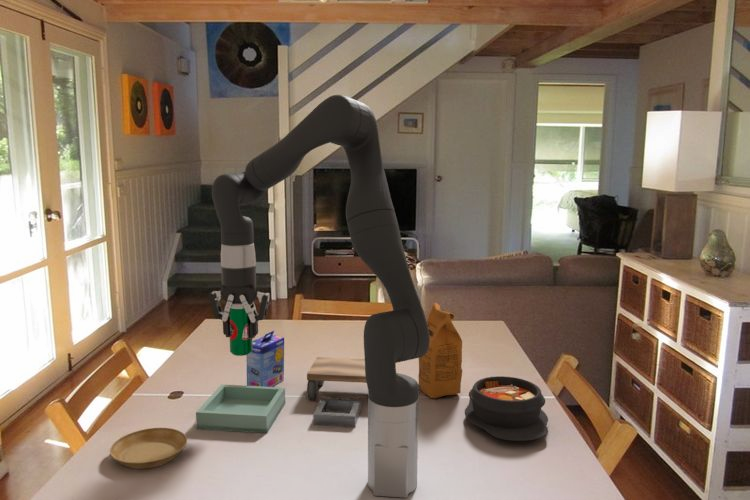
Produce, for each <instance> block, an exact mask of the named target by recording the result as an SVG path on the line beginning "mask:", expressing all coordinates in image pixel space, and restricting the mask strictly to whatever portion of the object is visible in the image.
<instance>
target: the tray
mask: <svg viewBox="0 0 750 500" xmlns="http://www.w3.org/2000/svg"><path fill="white" fill-rule="evenodd" d="M285 405H286V387H281V386H279V387H278V386H272V387H263V386H247V385H237V384H220V386H219V387H217V388H216V390H215V391H213V393H212V394H211V395H210V396H209V397H208V399H206V400H205V402H204V403H203V404H202V405H201V406H200V407H199V409H197V411H195V422H196V430H202V431H203V430H205V431H221V432H222V431H223V432H237V433H238V432H239V433H254V434H257V433H258V434H268V433H269V431H270V429H271V428H272V426H273V424H274V422H275V421H276V419H277V418H278V416H279V414H280V413H281V411H282V410H283V408H284V406H285Z"/></svg>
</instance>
